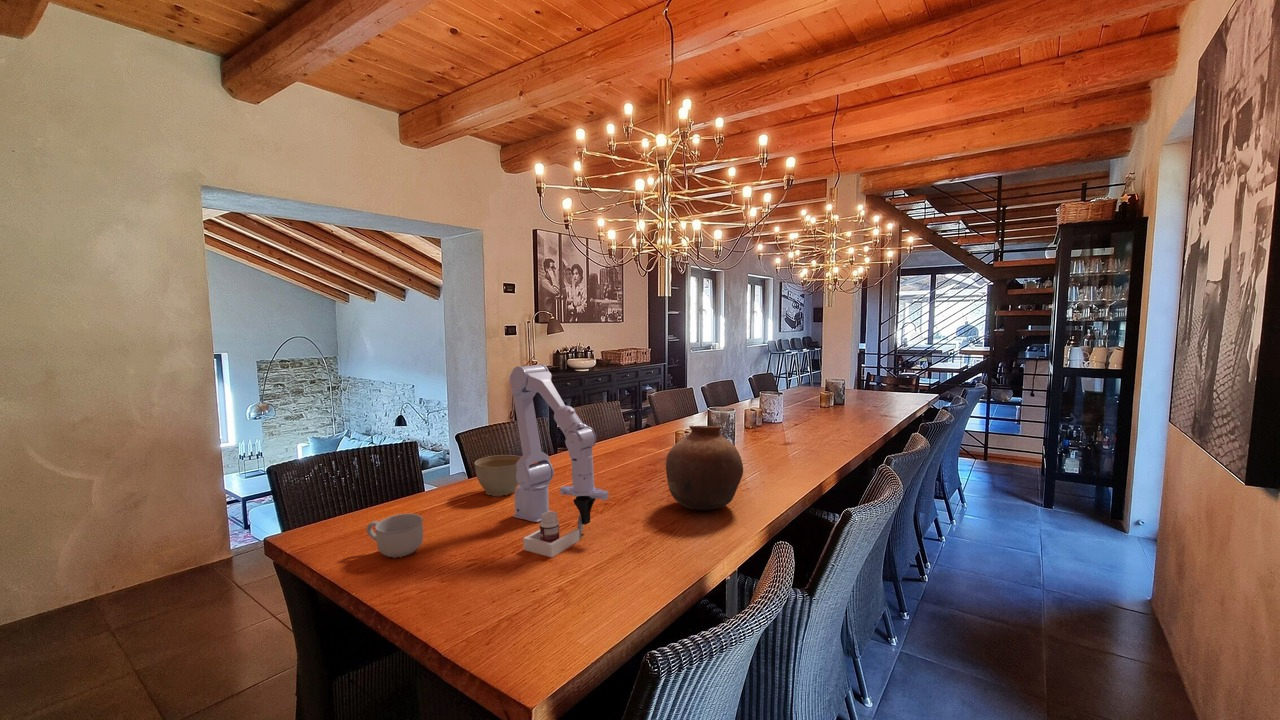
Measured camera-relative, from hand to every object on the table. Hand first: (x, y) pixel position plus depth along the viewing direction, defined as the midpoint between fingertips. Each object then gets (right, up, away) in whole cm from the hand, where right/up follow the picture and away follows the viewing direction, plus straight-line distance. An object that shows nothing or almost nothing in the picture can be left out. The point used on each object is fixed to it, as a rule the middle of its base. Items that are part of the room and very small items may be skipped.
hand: (585, 523), depth 141 cm
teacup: (-46, -4, -10) cm, 47 cm away
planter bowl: (-32, -1, +34) cm, 47 cm away
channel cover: (-1, -2, -1) cm, 3 cm away
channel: (-7, -3, -7) cm, 11 cm away
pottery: (+34, -1, +18) cm, 39 cm away
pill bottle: (-8, -3, -9) cm, 12 cm away
